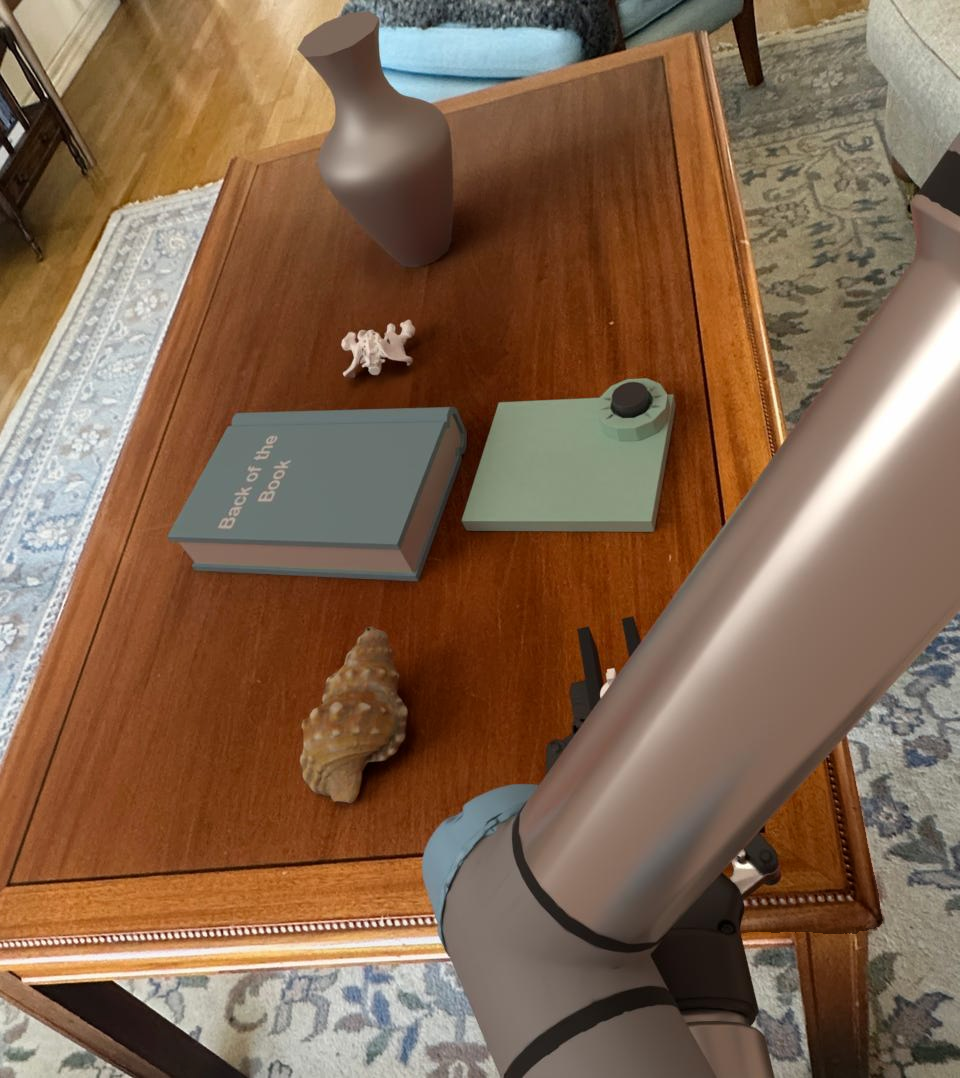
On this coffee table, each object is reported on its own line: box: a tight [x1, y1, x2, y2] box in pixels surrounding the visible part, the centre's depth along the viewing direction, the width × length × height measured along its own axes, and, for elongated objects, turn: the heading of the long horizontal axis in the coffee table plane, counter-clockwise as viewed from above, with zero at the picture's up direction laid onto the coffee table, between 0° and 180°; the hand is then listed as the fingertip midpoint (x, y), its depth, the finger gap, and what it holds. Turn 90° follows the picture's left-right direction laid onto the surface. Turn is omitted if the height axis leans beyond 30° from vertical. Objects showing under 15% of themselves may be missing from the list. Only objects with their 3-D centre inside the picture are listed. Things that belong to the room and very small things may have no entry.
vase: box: [296, 10, 454, 269], centre depth 103 cm, size 14×14×25 cm
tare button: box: [612, 382, 650, 418], centre depth 82 cm, size 3×3×1 cm
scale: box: [461, 377, 677, 533], centre depth 83 cm, size 16×14×3 cm
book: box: [166, 406, 468, 582], centre depth 88 cm, size 23×16×5 cm
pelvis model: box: [340, 319, 416, 379], centre depth 99 cm, size 8×4×7 cm
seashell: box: [299, 626, 409, 804], centre depth 71 cm, size 9×8×10 cm
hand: (609, 634), depth 62 cm, fingers closed on chess piece, 2 cm apart
